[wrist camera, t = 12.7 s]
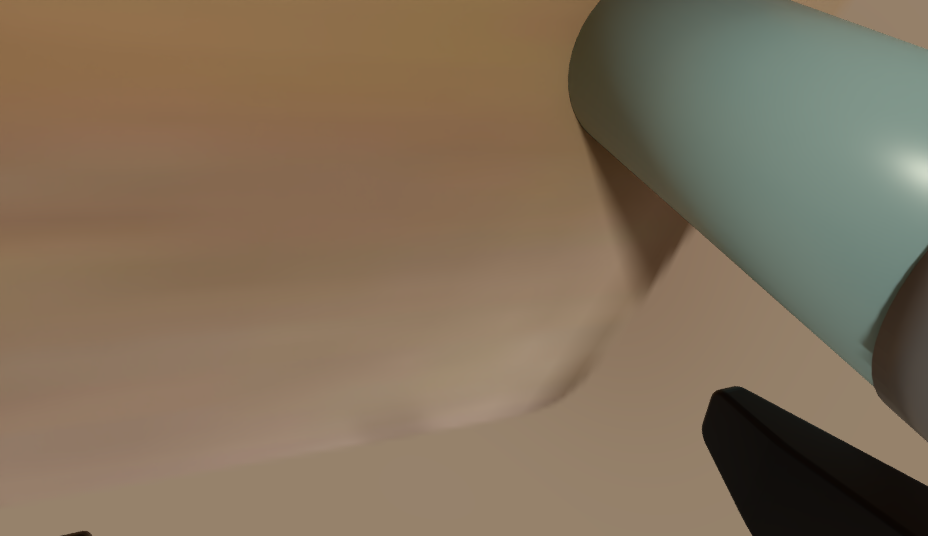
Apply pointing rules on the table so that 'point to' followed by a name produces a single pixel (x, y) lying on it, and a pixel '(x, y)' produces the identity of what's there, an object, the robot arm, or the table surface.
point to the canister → (781, 160)
